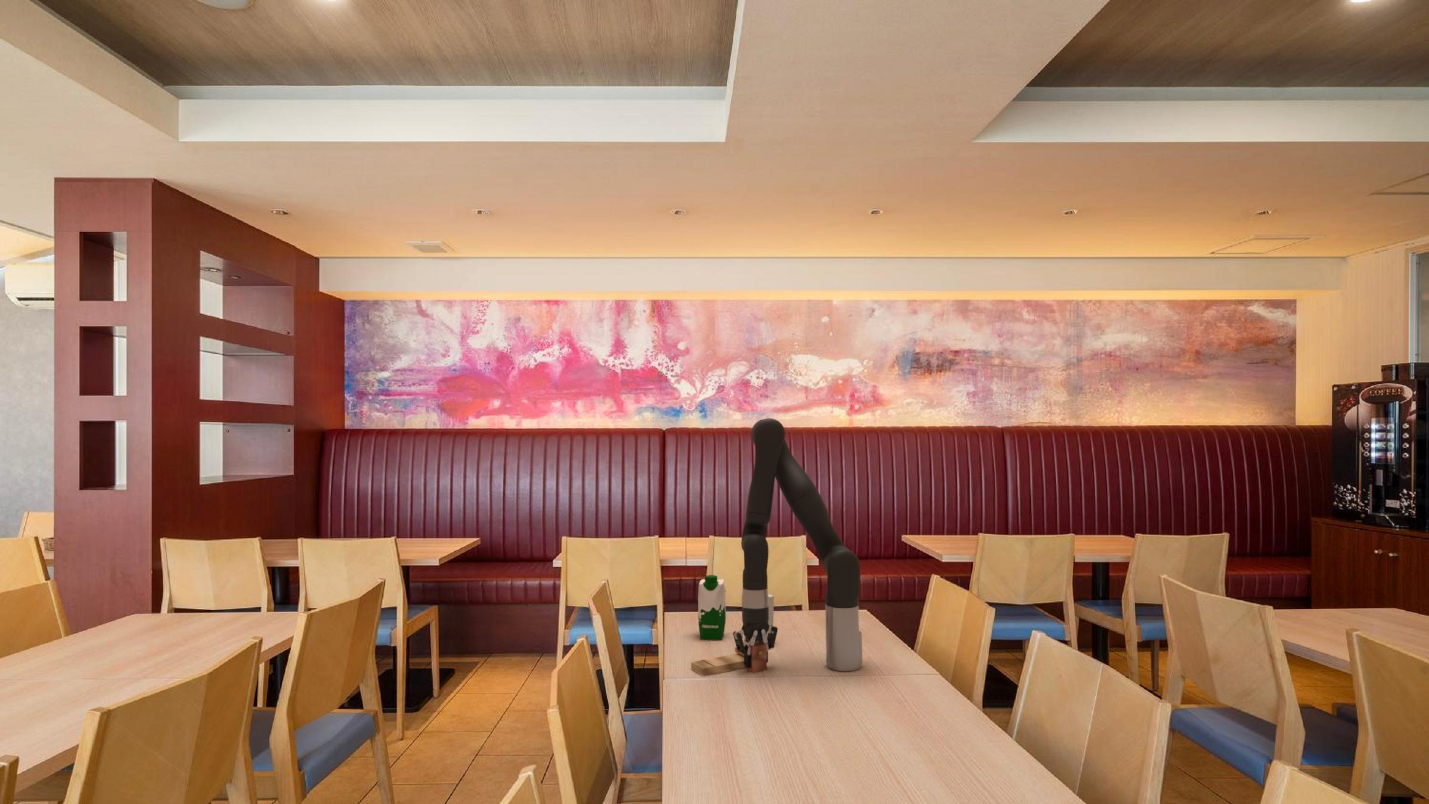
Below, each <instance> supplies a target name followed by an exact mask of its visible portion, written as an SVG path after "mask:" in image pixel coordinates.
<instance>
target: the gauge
mask: <svg viewBox="0 0 1429 804" xmlns="http://www.w3.org/2000/svg"><path fill="white" fill-rule="evenodd" d="M751 650H752V651H751V654H750V655H751V668H747V667H746V666H745V667H746V668H745V670H747V671H749V672H751V673H758V672H763V671H767V670H768V668H767V667H768V663H767V646H766V644H763V643H760V642H758V641H756V642H755V643H754V646H752V647H751ZM734 652H735V654H740V655H742V656H744V654H742V653H741V652H738V651H737V647H736V646H735V647H734Z"/></svg>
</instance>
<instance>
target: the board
mask: <svg viewBox="0 0 1429 804" xmlns="http://www.w3.org/2000/svg"><path fill="white" fill-rule="evenodd" d="M742 669H746V667H745V665H744V656H742V655H740V654H738V653H734V654H732V653H731V654H728V655H722V656H717V657H712V658H711V657H710V658H707V659H700V660H696V661H694V660H693V661H691V662H690V670H692V672H696V673H697V674H699V675H700V676H702V677H706V676H711V675H716V674H722V673H726V672H733V671H736V670H737V671H738V670H742Z"/></svg>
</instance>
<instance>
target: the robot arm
mask: <svg viewBox="0 0 1429 804" xmlns="http://www.w3.org/2000/svg"><path fill="white" fill-rule="evenodd" d="M750 438H751V441H752V443H753V445H754V448H755V450H754V454H755V455H754V468H753V473H752V477H751V481H750V486H749V490H748V496H747V504H746V512H745V521H744V524H743V530H742V535H741V542H740V543H741V546H740V547H741V549H742V551H743V565H744V566H743V567H744V568H743V571H742V592H741V593H742V594H741V620H742V625H741V629H740V630H738V631H735V630H734V631H733V632H732V636H733V639H734V643H735V647H737V651H738V652H741V653H742V654H744V665H745V666H746V667H747V668H751V655H750V654H751V651H752V650H751V647H752V646H754V643H755V642H756V641H758V642H760V643H763V644H766V646H767V664H768V662H769V651H770V650H771V649H774V647H775V644H776V639H777V635H778V627H777V626H775V625H773V626H772V625H770V626H769V624H768V621H769V596H768V593H769V591H768V589H769V588H768V587H769V586H768V563H769V543H768V540H767V530H768V525H769V523H770V521H771V517H772V508H773V500H774V490H775V480H776V482H777V484H778V486H779V488H780V490H781V493H782V494H783V496H784V499H785V501H786V503H787V505H788V506H789V508H790V510H791V511H792V513H793V515H794V516H795V517H796V520H797V521H798V523H799V524H800V525H801V527H802V528H803V530H804V531H805V533H806V534H807V535H808V537H809V538H810V540H811V542H812V543H813V545H814V548H815V550H816V552H817V554H818V557H819V559H820V562H821V564H822V566H823V569H824V570H825V573H827V574H826V575H827V576H826V577H827V578H826V580H827V590H826V593H825V601H824V602H825V603H824V604H825V605H824V606H825V607H824V608H825V655H826V656H825V657H826V658H825V659H826V660H825V661H826V663H825V664H826V667H827V668H828V669H830V670H834V671H839V672H851V671H857V670H858V669H860V668H861V667H863V637H862V636H863V634H862V632H861V631H860V628H859V627H860V625H859V624H860V623H859V622H860V620H859V618H860V617H859V598H860V595H861V565H860V560H859V558H858V556H857V554H855V553H854V551H852V550H850V549H849V548H848V547H847V546H846V545H845V543H844V542H843V541H842V539H841V538H840V536H839V535H838V533H837V532H836V531H837V530H836V529H835V528H834V526H833V524H832V521H831V518H830V515H829V513H828V510H827V509H828V508H827V506H826V504H825V501H824V499H823V498H822V496H821V494H820V492H819V491H818V489H817V487H816V485H815V484H814V482H813V480H812V479H811V477H810V476H809V475H808V473H807V472H806V471H805V470H804V468H803V467H802V466H801V465H800V464H799V462H798V461H797V460H796V458H795V457H794V455H793V454H792V452H791V450H790V448H789V446H788V444H787V442H786V439H785V438H786V430H785V428H784V425H783V424H782V423H781V422H780V421H779V420H777V419H775V418H770V417H767V418H762V419H760V420H758V421H756V422H755V423H754V424H753V426H752V428H751V432H750ZM767 632H768V636H767V637H766V634H767ZM744 635H745V639H744ZM749 641H750V642H749Z"/></svg>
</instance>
